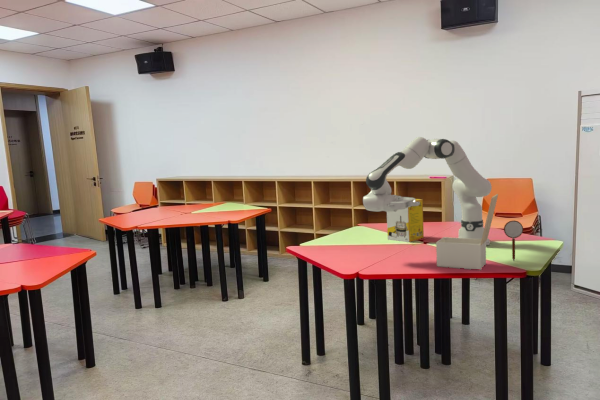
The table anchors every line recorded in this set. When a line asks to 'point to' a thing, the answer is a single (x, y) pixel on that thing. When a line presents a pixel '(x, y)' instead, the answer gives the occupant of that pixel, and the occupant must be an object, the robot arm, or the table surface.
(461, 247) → the carton
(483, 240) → the lid flap
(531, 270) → the table surface
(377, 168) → the robot arm
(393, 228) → the packaging box
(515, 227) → the magnifying glass
